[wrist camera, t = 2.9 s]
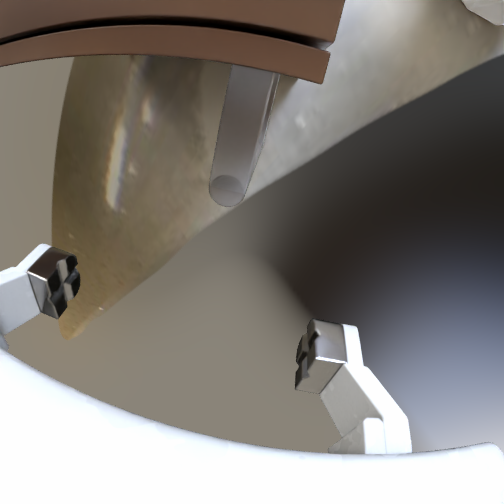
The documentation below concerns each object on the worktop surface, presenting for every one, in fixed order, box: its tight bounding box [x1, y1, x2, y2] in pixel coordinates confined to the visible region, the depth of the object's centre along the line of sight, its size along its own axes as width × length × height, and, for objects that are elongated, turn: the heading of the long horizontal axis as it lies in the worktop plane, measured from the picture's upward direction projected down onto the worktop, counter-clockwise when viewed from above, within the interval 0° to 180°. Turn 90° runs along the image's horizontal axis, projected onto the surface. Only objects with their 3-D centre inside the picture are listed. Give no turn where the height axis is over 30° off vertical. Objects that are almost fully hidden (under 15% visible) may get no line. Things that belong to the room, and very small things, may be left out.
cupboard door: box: [0, 25, 330, 207], centre depth 18 cm, size 8×18×22 cm, turn 78°
